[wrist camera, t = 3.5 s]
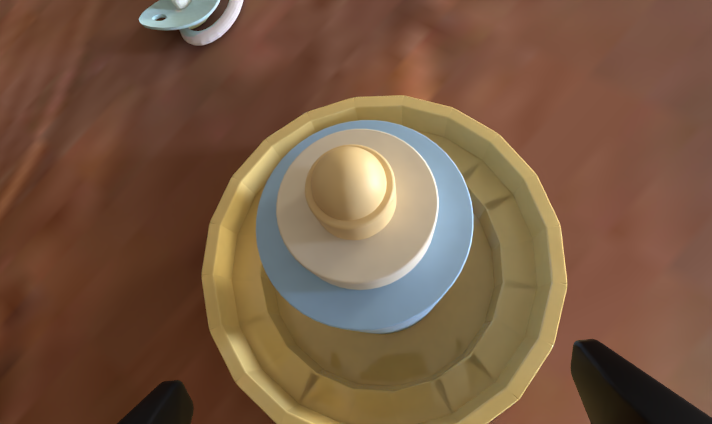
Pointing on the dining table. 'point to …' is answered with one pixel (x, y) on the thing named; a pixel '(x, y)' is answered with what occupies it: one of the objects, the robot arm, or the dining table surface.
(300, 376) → the bowl
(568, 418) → the dining table surface
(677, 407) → the robot arm
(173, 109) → the dining table surface
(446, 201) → the baby bottle
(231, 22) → the pacifier
